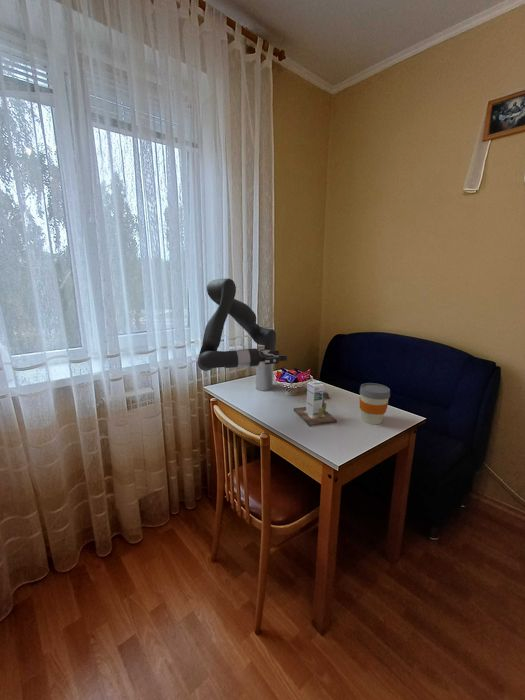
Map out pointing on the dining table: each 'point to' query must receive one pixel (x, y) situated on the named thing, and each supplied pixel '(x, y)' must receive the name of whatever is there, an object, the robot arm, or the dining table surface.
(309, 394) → the syrup box
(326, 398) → the walkie-talkie
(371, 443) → the dining table surface
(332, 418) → the pin board
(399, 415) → the dining table surface
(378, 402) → the reusable coffee cup
